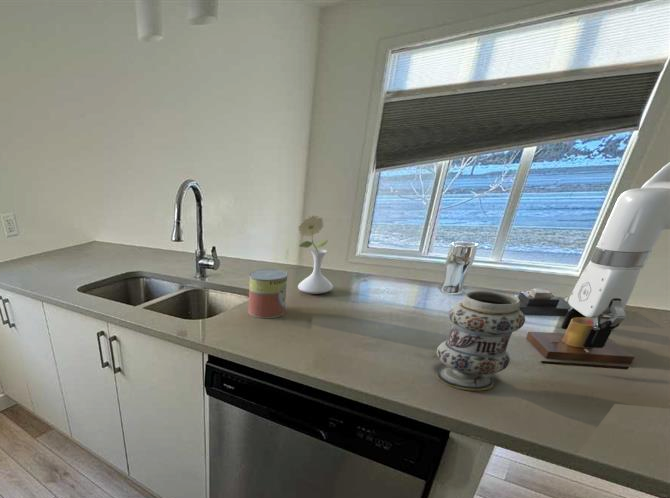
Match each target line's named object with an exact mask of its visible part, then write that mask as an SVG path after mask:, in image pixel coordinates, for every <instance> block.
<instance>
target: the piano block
mask: <svg viewBox="0 0 670 498" xmlns="http://www.w3.org/2000/svg"><path fill="white" fill-rule="evenodd" d="M529 292H530V291H520V292H519V295H514V296H515V297H517V298H518V299H519V300H520V306H519V307H520V311H521V312H522V313H523V314H524V316H539V317H540V316H541V317H542V316H544V317H545V316H546V317H566V315H567V312H571V311H568V307H569V306H570V305H569V303H568V300H566V299H564V298H563V297H561V296H555V295H554V294H552V295H551V297H550V298H533V297H532V296H530V295H529Z"/></svg>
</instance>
